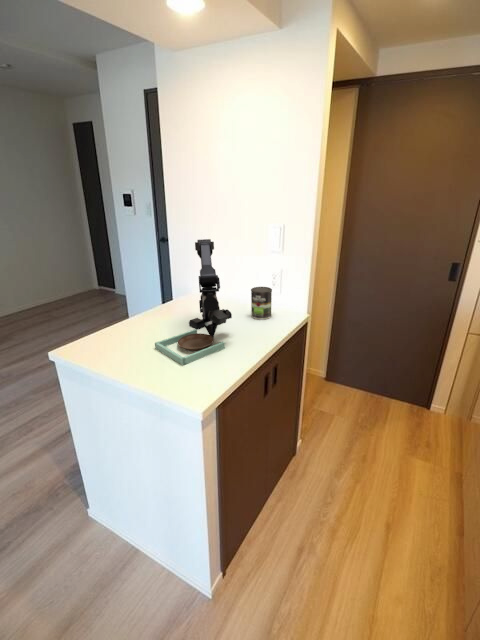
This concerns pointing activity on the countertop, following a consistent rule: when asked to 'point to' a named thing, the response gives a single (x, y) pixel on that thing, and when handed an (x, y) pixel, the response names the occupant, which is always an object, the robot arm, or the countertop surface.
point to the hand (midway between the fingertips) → (212, 337)
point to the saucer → (195, 342)
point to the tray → (189, 358)
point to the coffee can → (261, 302)
